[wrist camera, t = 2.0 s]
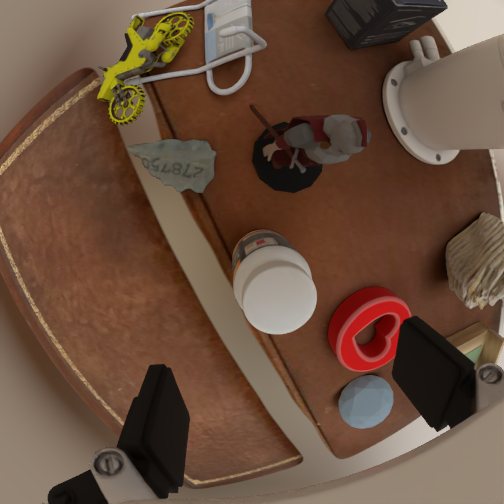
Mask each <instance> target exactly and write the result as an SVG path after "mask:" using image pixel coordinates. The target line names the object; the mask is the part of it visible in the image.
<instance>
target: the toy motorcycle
mask: <svg viewBox="0 0 504 504" xmlns="http://www.w3.org/2000/svg"><path fill="white" fill-rule="evenodd" d="M178 17H179V18H180V20H179V21H178V22H177V23H175V24H172V23H171V21H172V20H173V19H174V18H178ZM159 21H160V22H159V23H158V24H156V25H157V26H156V28H154V30H153V29H152V28H150V27H143V23H144V19H143V18H141V17H140V16H139V15H138V14H137V15H136V16H135V17H134V18H133V20H132V22H131V23H130V26H129V27H128V29H127V31H126V33H125V38H126V42H127V48H126V50H125V52H124V53H123V55H122V57H121V58H120V60H119V62H118V63H116V64H115V65H114V66H112V67H111V66H109V67H108V68H103V67H100V66H99V67H98V68H100V69H102V70H104V72H103V74H104V77H105V78H104V81H103V83H102V86H101V88H100V91H99V94H98V97H97V99H99V100H102V101H105V102H108V101H111V103H109V105H110V108H108V110H110V113H108V114H109V115H111V117H110V119H113V120H112V122H115V124H119V125H124V124H125V125H128V123H132V121H133V120H136V117H138V116H140V115H139V114H140V113H141V111H142V112H143V110H142V108H143V106H145V105H144V101H146V100H145V99H144V97H145V96H146V95H145V94H143V93H144V91H143V90H141V89H142V88H140V87H139V86H137V85H132V84H130V85H129V86H128V85H126V86H125V85H124V83H123V81H124V80H125V79H128V78H131V77H133V76H136V75H140V74H143V73H146V72H149V71H151V70H152V68H153V67H158V68H162V67H164V66H165V65H166V64H167V63H169V62H171V61H172V60H173V58H174V57H175V55H176V54H177V52H178V51H179V48H180V47H181V46H182V45H183V43H184V42H185V40H184V39H182V38H184V37H185V36H186V37H187V34H188V33H190V32H191V31H190V29H193V27H192V25H194V23H193V22H192V21H194V20H193V19H192V17H191V16H190V15H189V14H188V13H187V12H185V13H184V12H183V11H182V12H179V11H177V13H174V12H173V13H172V14H170V15H169V14H168V16H166V17H163V19H162V20H159ZM182 21H186V22H187V23H186V25H185V26H184V27H182V28H179V27H178V24H179V23H180V22H182ZM166 23H168V24H166ZM177 30H180V33H179V34H178V35H176V36H174V37H172V35H173V34H175V33H177ZM169 32H170V33H169ZM172 32H173V33H172ZM165 35H166V36H165ZM161 44H162V45H164V44H166V45H168V44H170V45H168V47H167V48H166V49H165V48H164V47H163V46H162V45H161ZM159 46H160V47H161V48H162V49H164V51H163V52H161V53H160V54H159V55H158V54H157V53H156V52H155V50H157V48H158V47H159ZM162 53H163V54H162ZM161 54H162V56H161V60H162V62H161V63H160V62H157V60H158V59H159V56H160V55H161ZM128 91H132V92H133V94H132V97H131V96H130V94H129V92H128ZM125 97H126V98H125ZM134 97H138V103H137V104H136V105H135V106H132V104H133V102H132V101H131V100H132V99H133V98H134ZM117 103H119V105H120V106H119V107H118V106H117ZM120 108H123V110H124V112H123V115H122V116H121V117H117V111H118V110H119V109H120ZM128 108H133V113H132V114H131V115H130V116H129V117H127V116H126V114H125V113H126V110H127V109H128Z"/></svg>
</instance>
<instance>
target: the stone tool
mask: <svg viewBox="0 0 504 504" xmlns="http://www.w3.org/2000/svg"><path fill="white" fill-rule="evenodd" d="M127 150H128V151H129V152H131V153H132V154H133V155H135V156H137V157H139V158H141V160H142V163H143V165H144V166H145V167H146V168H147V169H148V171H149V173H150V174H151V175H152V176H154V177H156V178H158V179H160V180H161V181H162V182H163V184H164V185H172V186H173V187H174V188H175V189H176V190H177V191H178V192H182V191H184V190H185V189H192V190H193V191H194V192H197V193H203V192H204V188H205V187H206V186H207V185H208V184H209V182H210V181H211V180H212V179H213V178H214V175H215V174H214V161H215V157H216V152H215V151H213V150H212V149H211V147H210V145H209V143H208V142H207V141H206V140H203V141H198V140H195V139H193V140H190V141H184V142H182V141H180V140H177V139H174V140H172V139H167V140H160V141H157V142H155V143H147V144H137V145H131V146H129V147H127Z"/></svg>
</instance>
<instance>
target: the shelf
mask: <svg viewBox="0 0 504 504" xmlns="http://www.w3.org/2000/svg"><path fill="white" fill-rule="evenodd" d="M445 339H446V340H447V341H449V342H450V343H451V344H452V345H454V346H455V347H456V348H457V349H458V350H460V351H461V352H462V353H463V354H464V355H465V356H467V357H468V358H469V359H470V360H471V361H472V362H474V363H475V366H474V369H475V370H477V368H478V367H479V366H480V365H482V364H484V363H493V364H497V361H498V359H499V356H500V353H501V351H502V348H503V345H504V338H502V337H501V336H500V335H499V334H497V333H496V332H495V331H493V330H492V329H490V328H489V327H487V326H486V325H485V324H483V323H482V322H480V321H479V322H477V323H475V324H473V325H471V326H470V327H468V328H466V329H464V330H462V331H460V332H457V333H455V334H453V335H451V336H449V337H447V338H445Z"/></svg>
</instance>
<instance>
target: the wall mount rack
mask: <svg viewBox="0 0 504 504" xmlns="http://www.w3.org/2000/svg"><path fill="white" fill-rule="evenodd" d="M204 6H206V7H205V10H204V13H205V61H206V65H205V66H203V67H200V68H197V69H192V70H184V71H177V72H171V73H165V74H159V75H154V76H149V77H144V78H134V79H129V80H127V81H126V82H125V86H126V85H128V86H129V85H130V84H132V85H140V84H141V83H145V82H150V81H155V80H161V79H166V78H172V77H179V76H186V75H193V74H199V73H202V72H204V71H206V72H207V82H208V85H209V87H210V89H211V90H212V91H213V92H214V93H216V94H219V95H229V94H232V93H234V92H236V91H237V90H239V89H240V88H241V87H242V86H243V85H244V84H245V82H246V81H247V79H248V77H249V75H250V72H251V68H252V53H254V52H257V51H260V50H263V49H265V48H266V46H267V43H266V41H265V40H264V39H262V38H261V37H260V36H258V35H257V34H256V33H254V32H253V28H252V12H251V0H206V1H205V2H203V3H201V4H199V5H194V6H185V7H177V8H171V9H164V10H159V11H153V12H148V13H139V14H138V15H139V16H140V17H141V18H143V19H144V18H146V17H150V16H155V15H160V14H166V13H173V12H177V11H179V12H180V11H188V10H196V9H200V8H203V7H204ZM136 15H137V14H135V15H133V16H132V17H131V19H132V20H133V18H134V17H135V16H136ZM253 40H254V41H255V42H257V43H258V44H259V45H256V46H254V44H253ZM242 56H245V69H244V73H243V75H242V77H241V78H240V80H239V81H238V82H237V83H236V84H235V85H234V86H232V87H230V88H228V89H219V88H218V87H216V85H215V84H214V82H213V74H212V68H214V67H216V66H219V65H221V64H224V63H226V62H229V61H231V60H234V59H237V58H239V57H242Z"/></svg>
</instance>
